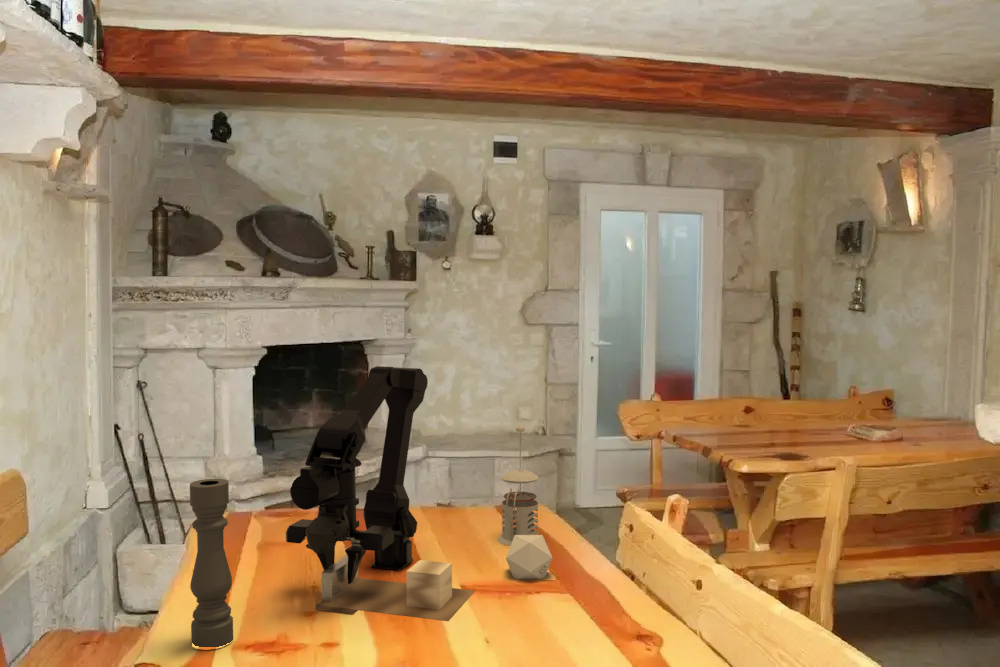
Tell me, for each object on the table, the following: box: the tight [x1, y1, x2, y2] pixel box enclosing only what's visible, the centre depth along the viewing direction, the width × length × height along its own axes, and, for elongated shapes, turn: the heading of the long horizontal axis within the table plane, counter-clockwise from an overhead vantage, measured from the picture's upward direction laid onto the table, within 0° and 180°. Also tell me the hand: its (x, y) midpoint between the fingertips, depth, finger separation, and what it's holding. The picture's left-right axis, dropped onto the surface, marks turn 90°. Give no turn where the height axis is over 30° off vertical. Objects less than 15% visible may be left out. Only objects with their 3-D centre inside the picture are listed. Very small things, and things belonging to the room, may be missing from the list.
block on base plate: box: [315, 554, 476, 622], centre depth 145 cm, size 24×14×6 cm, turn 73°
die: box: [505, 534, 553, 580], centre depth 157 cm, size 8×9×10 cm
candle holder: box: [189, 478, 234, 647], centre depth 129 cm, size 6×6×25 cm
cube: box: [406, 559, 453, 610], centre depth 143 cm, size 6×6×6 cm
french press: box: [497, 425, 539, 547], centre depth 180 cm, size 10×12×25 cm
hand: (340, 582), depth 148 cm, fingers open, 4 cm apart
